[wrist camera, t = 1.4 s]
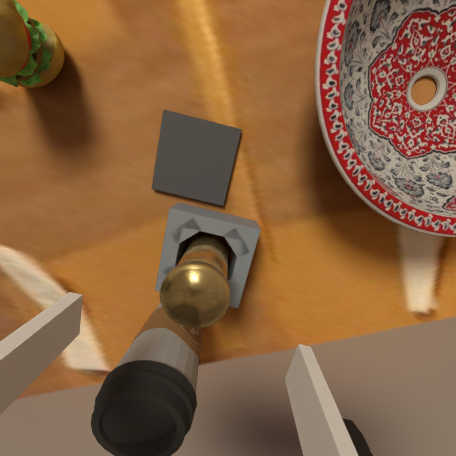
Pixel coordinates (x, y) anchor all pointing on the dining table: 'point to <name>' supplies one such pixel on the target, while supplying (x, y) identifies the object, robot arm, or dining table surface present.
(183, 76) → the dining table surface
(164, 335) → the coffee cup
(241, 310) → the dining table surface
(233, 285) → the housing
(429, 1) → the ceramic bowl
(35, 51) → the hamburger
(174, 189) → the rubber mat
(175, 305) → the gold round-topped cylinder
